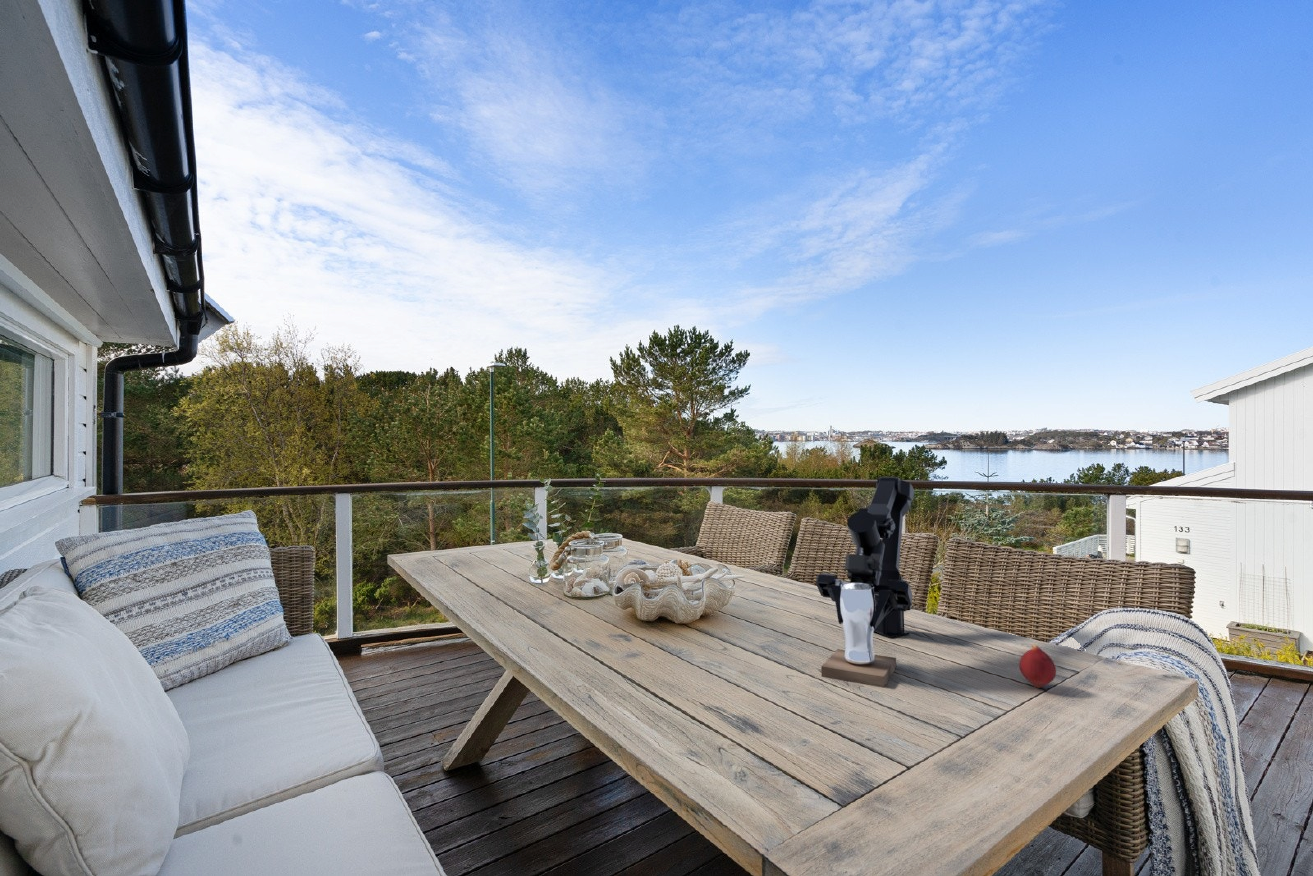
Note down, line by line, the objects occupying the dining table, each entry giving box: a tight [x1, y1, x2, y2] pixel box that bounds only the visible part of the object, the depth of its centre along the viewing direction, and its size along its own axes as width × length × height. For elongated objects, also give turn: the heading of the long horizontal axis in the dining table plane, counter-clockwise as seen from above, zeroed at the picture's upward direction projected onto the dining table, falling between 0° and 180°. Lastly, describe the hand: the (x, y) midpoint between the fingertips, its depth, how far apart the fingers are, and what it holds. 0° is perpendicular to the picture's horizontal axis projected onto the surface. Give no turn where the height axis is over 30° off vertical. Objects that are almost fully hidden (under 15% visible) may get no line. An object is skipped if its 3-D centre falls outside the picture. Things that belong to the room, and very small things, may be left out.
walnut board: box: [821, 648, 897, 688], centre depth 126 cm, size 12×12×2 cm
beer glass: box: [840, 581, 876, 664], centre depth 127 cm, size 7×7×15 cm
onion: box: [1018, 644, 1057, 689], centre depth 116 cm, size 6×6×8 cm
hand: (856, 625), depth 125 cm, fingers closed on beer glass, 6 cm apart
